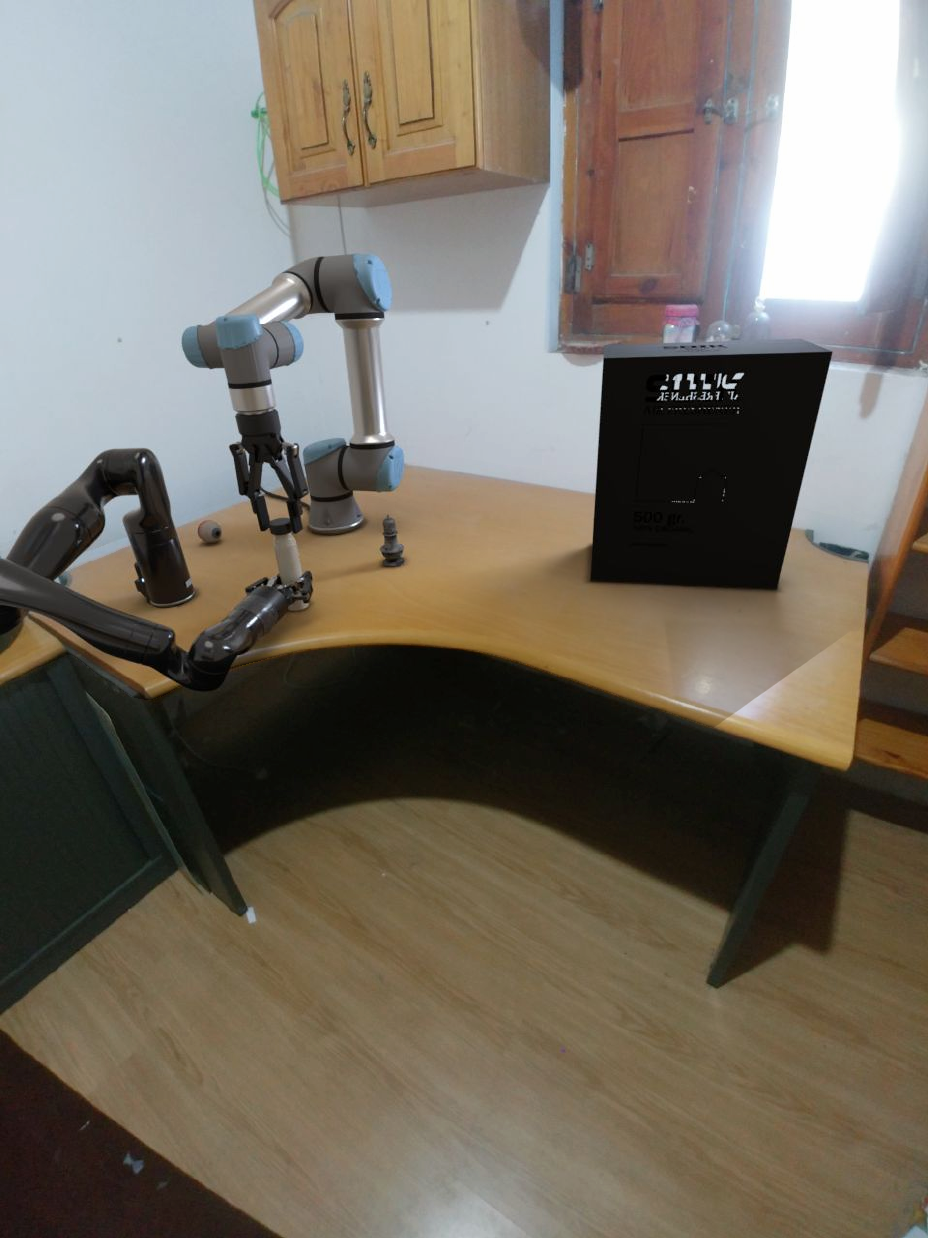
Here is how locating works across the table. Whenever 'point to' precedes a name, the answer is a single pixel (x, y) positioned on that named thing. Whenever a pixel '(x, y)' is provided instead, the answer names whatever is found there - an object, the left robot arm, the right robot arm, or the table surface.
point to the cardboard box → (703, 460)
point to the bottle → (288, 564)
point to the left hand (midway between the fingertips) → (298, 574)
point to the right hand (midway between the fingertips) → (281, 529)
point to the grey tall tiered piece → (391, 544)
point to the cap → (280, 526)
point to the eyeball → (209, 531)
